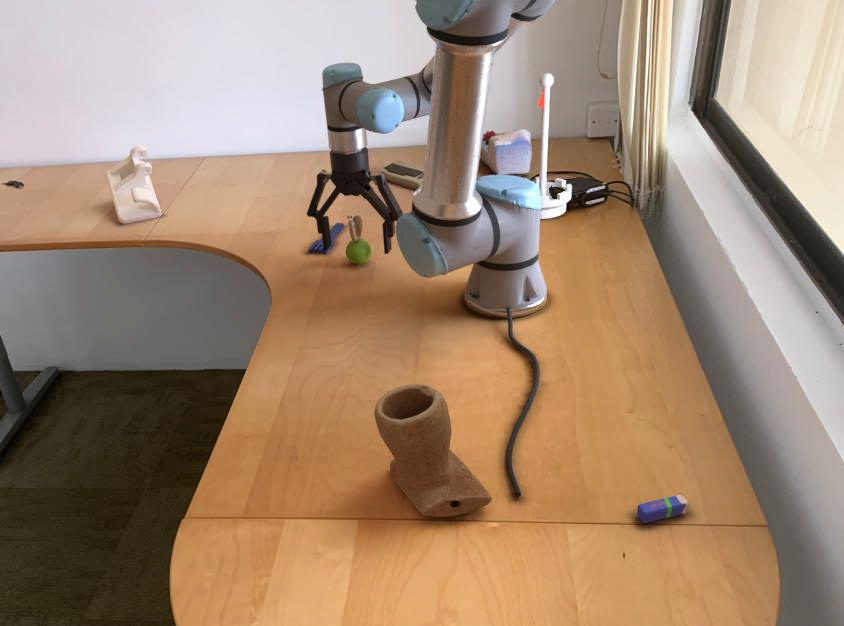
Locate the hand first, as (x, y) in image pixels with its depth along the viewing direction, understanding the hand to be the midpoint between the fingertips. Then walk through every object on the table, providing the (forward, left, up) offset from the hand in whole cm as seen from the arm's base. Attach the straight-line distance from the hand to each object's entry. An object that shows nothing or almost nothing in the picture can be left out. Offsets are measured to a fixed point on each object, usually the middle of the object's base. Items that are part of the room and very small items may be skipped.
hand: (357, 249), depth 176 cm
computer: (+50, +3, -4) cm, 50 cm away
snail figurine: (0, 0, -4) cm, 4 cm away
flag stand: (+34, -33, -4) cm, 48 cm away
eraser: (-66, -63, -4) cm, 91 cm away
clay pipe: (-68, -33, -4) cm, 76 cm away
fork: (+11, +11, -3) cm, 16 cm away
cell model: (+62, -20, -4) cm, 65 cm away
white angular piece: (+23, +68, -4) cm, 72 cm away
